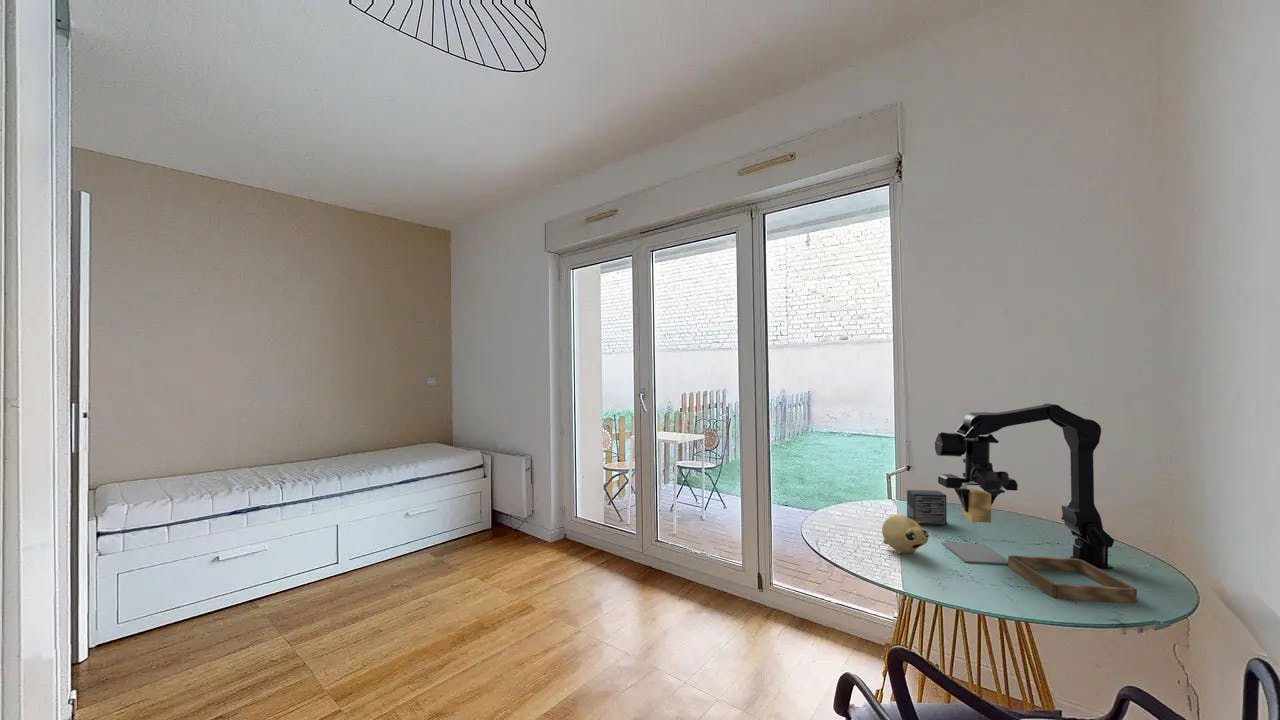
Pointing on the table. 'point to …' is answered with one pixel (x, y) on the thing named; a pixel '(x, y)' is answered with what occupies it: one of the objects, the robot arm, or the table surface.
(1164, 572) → the table surface
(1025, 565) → the wooden picture frame
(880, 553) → the table surface
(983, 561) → the mat
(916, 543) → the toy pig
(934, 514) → the small box
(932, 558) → the table surface
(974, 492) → the ochre block
